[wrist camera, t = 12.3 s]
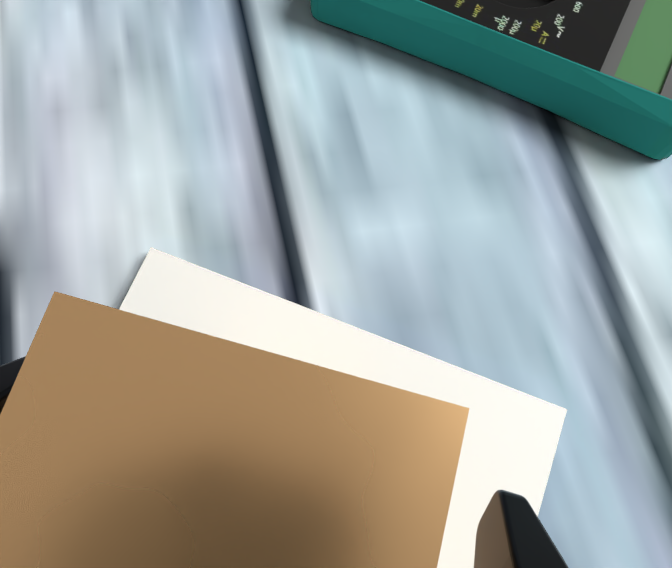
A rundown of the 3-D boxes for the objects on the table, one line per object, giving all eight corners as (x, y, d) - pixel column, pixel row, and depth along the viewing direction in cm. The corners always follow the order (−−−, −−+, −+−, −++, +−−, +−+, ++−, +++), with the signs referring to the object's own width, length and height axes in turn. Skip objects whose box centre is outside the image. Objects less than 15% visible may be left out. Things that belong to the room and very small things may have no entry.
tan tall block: (340, 583, 15) (351, 980, 4) (190, 536, 15) (-165, 789, 4) (379, 425, 16) (469, 407, 5) (240, 384, 16) (54, 291, 5)
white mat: (435, 859, 13) (438, 875, 13) (-37, 628, 15) (-50, 635, 14) (560, 409, 16) (566, 409, 16) (156, 252, 18) (150, 247, 17)
